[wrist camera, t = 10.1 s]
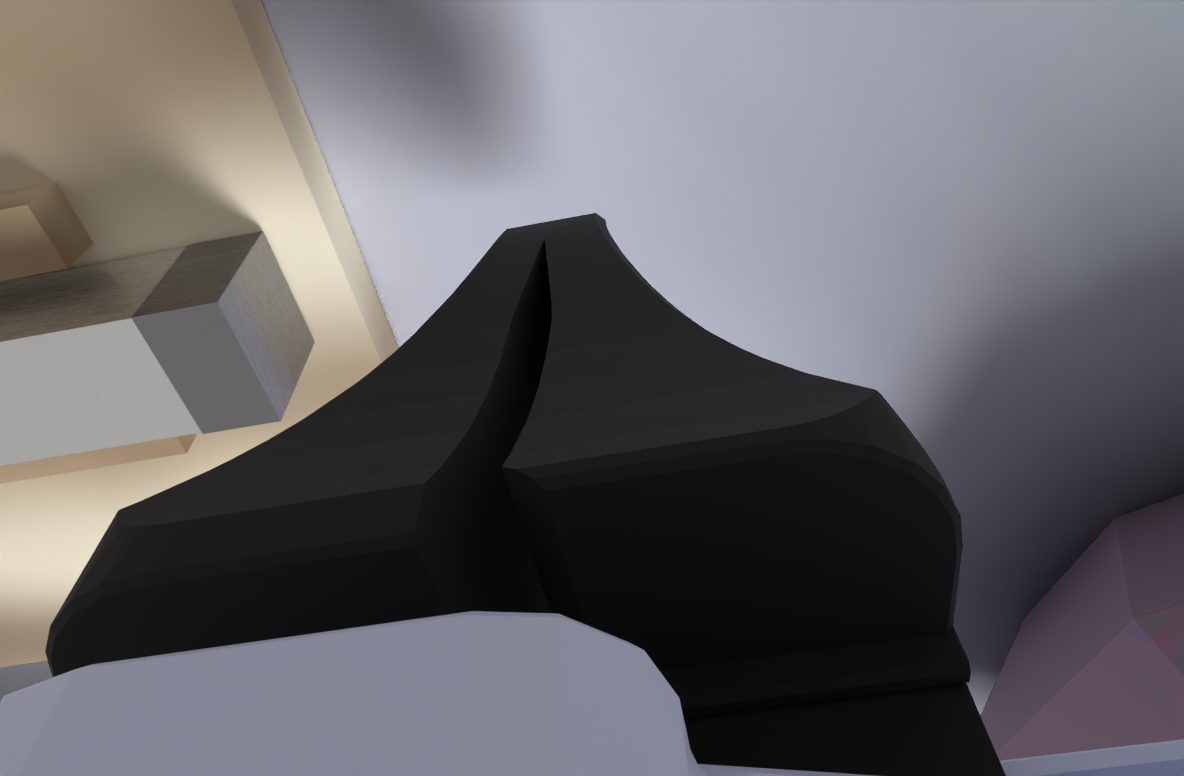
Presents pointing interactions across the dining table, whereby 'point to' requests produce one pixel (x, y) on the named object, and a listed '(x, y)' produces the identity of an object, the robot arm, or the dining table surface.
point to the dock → (157, 235)
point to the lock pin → (147, 349)
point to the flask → (1100, 647)
